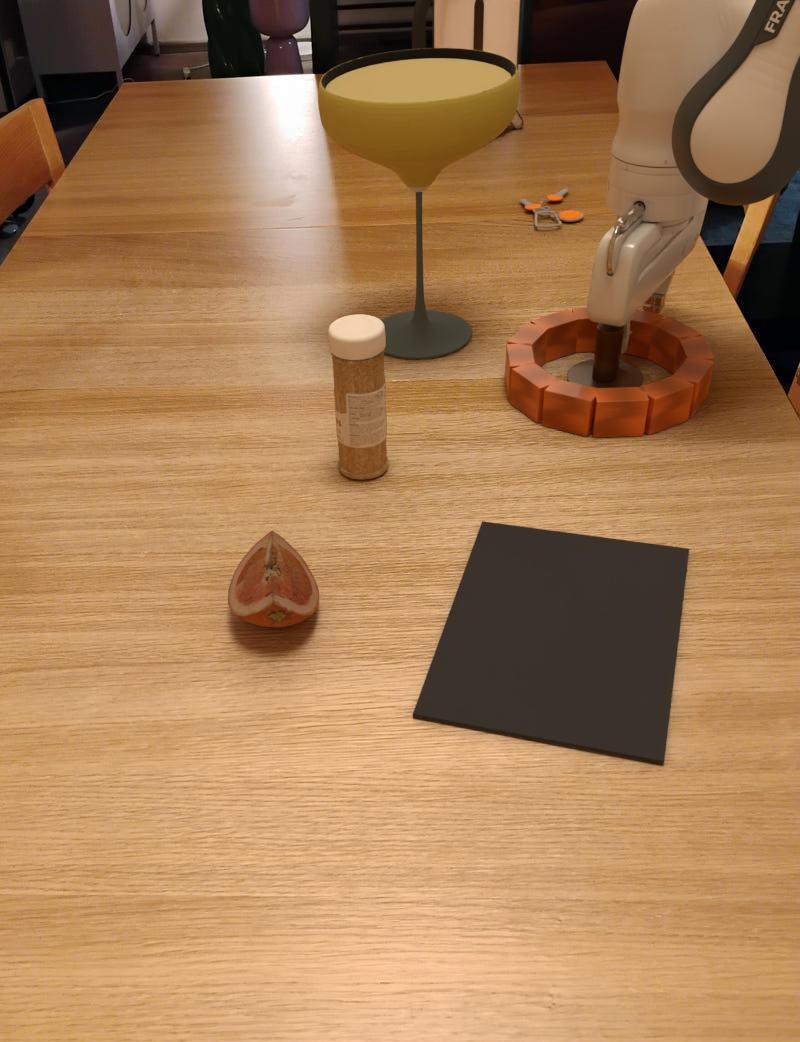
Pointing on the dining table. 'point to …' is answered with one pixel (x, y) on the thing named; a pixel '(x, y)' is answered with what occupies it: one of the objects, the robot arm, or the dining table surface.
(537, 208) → the key chain
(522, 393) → the ring
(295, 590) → the fruit slice
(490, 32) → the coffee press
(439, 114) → the cocktail glass
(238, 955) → the dining table surface
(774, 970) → the dining table surface
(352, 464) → the sprinkles bottle
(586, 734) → the mat
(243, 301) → the dining table surface
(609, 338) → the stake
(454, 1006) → the dining table surface
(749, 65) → the robot arm
